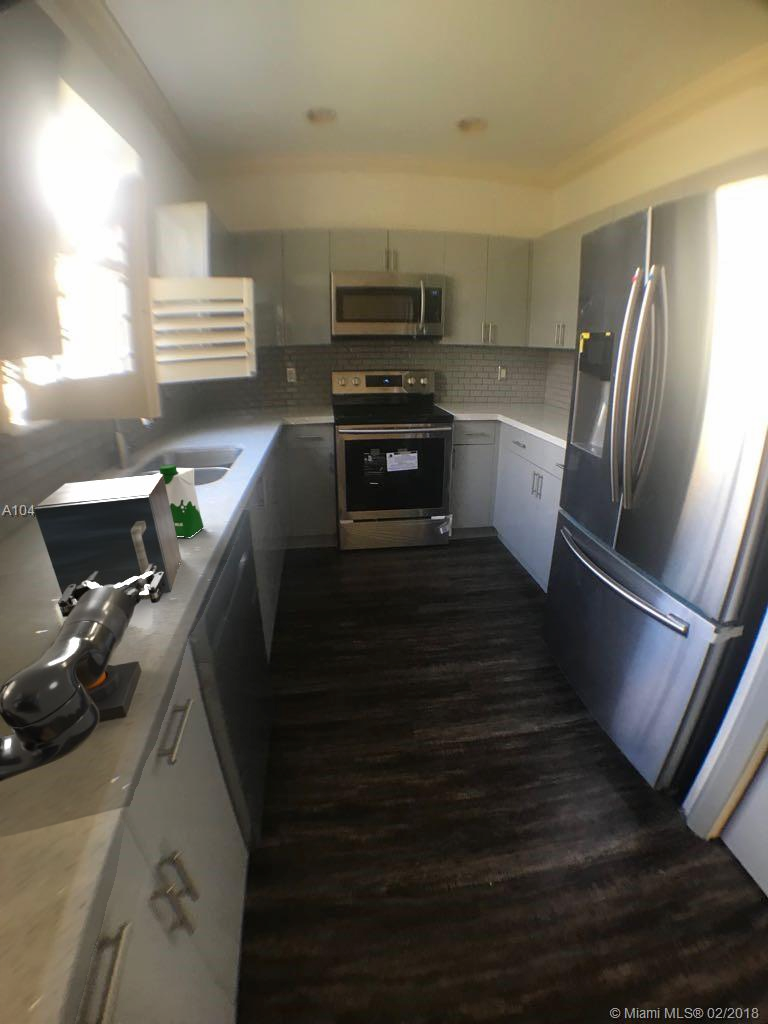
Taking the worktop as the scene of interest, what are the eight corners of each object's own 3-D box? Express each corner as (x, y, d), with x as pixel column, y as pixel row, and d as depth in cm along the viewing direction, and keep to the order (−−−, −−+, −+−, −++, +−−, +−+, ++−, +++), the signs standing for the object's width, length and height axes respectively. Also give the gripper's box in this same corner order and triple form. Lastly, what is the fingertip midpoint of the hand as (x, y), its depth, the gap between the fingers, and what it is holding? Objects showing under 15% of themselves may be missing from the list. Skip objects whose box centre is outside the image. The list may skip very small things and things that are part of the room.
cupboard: (171, 589, 100) (149, 494, 92) (68, 605, 95) (35, 506, 87) (181, 559, 113) (163, 474, 105) (91, 571, 108) (65, 483, 101)
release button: (74, 691, 66) (71, 682, 65) (82, 675, 69) (79, 666, 69) (101, 686, 67) (98, 677, 66) (109, 670, 70) (106, 661, 69)
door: (166, 604, 94) (142, 505, 86) (56, 622, 89) (20, 519, 81) (171, 589, 99) (149, 495, 91) (67, 605, 95) (35, 507, 87)
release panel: (47, 733, 64) (39, 711, 62) (73, 684, 73) (66, 664, 71) (126, 717, 66) (119, 695, 64) (141, 671, 75) (136, 651, 74)
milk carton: (162, 539, 125) (146, 468, 118) (181, 526, 133) (167, 459, 126) (191, 540, 124) (177, 469, 116) (209, 527, 132) (196, 459, 125)
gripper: (48, 655, 65) (86, 597, 79) (157, 637, 68) (174, 584, 83) (31, 610, 62) (74, 558, 77) (145, 593, 65) (165, 546, 80)
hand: (126, 572), depth 80 cm, fingers open, 8 cm apart
